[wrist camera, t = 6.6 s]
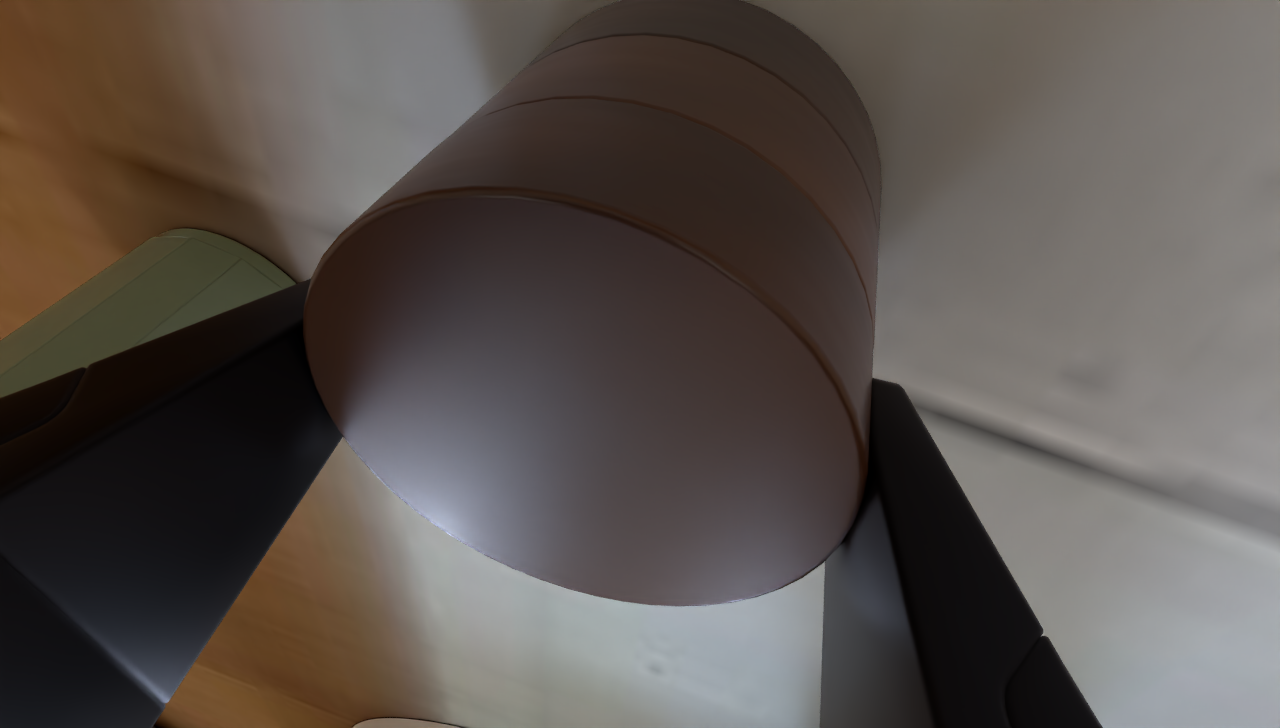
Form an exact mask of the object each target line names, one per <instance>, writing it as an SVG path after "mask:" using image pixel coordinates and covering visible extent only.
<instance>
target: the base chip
mask: <svg viewBox="0 0 1280 728" xmlns="http://www.w3.org/2000/svg"><path fill="white" fill-rule="evenodd" d="M638 35H646V36H657V37H667V38H678V39H682V40H686V41H690V42H694V43H698V44H703V45H707V46H711V47H714V48H716V49H719V50H721V51H724V52H726V53H729V54H732V55H734V56H737V57H739V58H742V59H744V60H746V61H748V62H750V63H751V64H753V65H755V66H757V67H759V68H760V69H762V70H764V71H766V72H768V73H769V74H771V75H773V76H775V77H776V78H777V79H779V80H780V81H781V82H783V83H784V84H785V85H787V86H788V87H789V88H791V89H792V90H793V91H795V92H796V93H797V94H799V95H800V96H801V97H803V98H804V99H805V100H806V101H807V102H808V103H809V104H810V105H811V106H812V107H813V108H814V109H815V110H816V111H817V112H818V113H819V114H820V115H821V116H822V117H823V118H824V119H825V120H826V121H827V122H828V124H829V125H830V126H831V128H832V129H833V130H834V132H835V133H836V134H837V136H838V137H839V138H840V140H841V141H842V142H843V143H844V145H845V146H846V148H847V149H848V151H849V153H850V155H851V157H852V158H853V160H854V162H855V164H856V166H857V167H858V169H859V171H860V173H861V175H862V178H863V180H864V183H865V186H866V188H867V191H868V194H869V197H870V199H871V202H872V207H873V212H874V217H875V222H876V227H877V239H878V250H879V229H880V208H881V163H880V158H879V152H878V147H877V142H876V137H875V134H874V131H873V128H872V125H871V123H870V120H869V117H868V114H867V112H866V110H865V108H864V106H863V104H862V102H861V100H860V98H859V96H858V94H857V93H856V91H855V89H854V87H853V86H852V84H851V83H850V82H849V80H848V79H847V77H846V76H845V75H844V73H843V72H842V71H841V69H840V68H839V66H838V65H837V64H836V63H835V62H834V61H833V60H832V59H831V58H830V57H829V56H828V55H827V54H826V53H825V52H824V51H823V50H822V49H821V47H820V46H819V45H818V44H817V43H815V42H814V41H813V40H811V39H810V38H809V37H807V36H806V35H805V34H804V33H802V32H801V31H800V30H798V29H797V28H796V27H794V26H793V25H791V24H790V23H788V22H786V21H784V20H783V19H781V18H779V17H777V16H775V15H774V14H772V13H770V12H768V11H766V10H764V9H761V8H759V7H756V6H754V5H751V4H748V3H746V2H743V1H741V0H620V1H618V2H615V3H613V4H610V5H608V6H605V7H602V8H600V9H598V10H597V11H595V12H593V13H591V14H590V15H588V16H586V17H585V18H583V19H581V20H579V21H578V22H576V23H575V24H574V25H573V26H572V27H570V28H569V29H568V30H567V31H565V32H564V33H563V34H562V35H561V36H559V37H558V38H557V39H556V40H555V41H554V42H553V43H552V44H550V45H549V46H548V47H547V48H546V49H545V50H544V51H543V52H542V53H541V54H539V55H538V56H537V57H536V58H535V59H534V60H533V61H532V62H531V63H530V64H528V65H527V66H526V67H525V68H524V69H523V70H522V71H521V72H523V71H524V70H525V69H526V68H527V67H529V66H531V65H533V64H534V63H536V62H538V61H540V60H541V59H543V58H545V57H547V56H549V55H550V54H552V53H555V52H557V51H560V50H563V49H565V48H568V47H571V46H574V45H576V44H579V43H583V42H588V41H593V40H598V39H603V38H608V37H618V36H638ZM521 72H520V73H521ZM520 73H519V74H520ZM519 74H517V75H516V76H518V75H519ZM516 76H515V77H516ZM515 77H514V78H515ZM514 78H513V79H514ZM513 79H512V80H513Z"/></svg>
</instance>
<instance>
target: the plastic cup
mask: <svg viewBox="0 0 1280 728" xmlns="http://www.w3.org/2000/svg"><path fill="white" fill-rule="evenodd" d="M295 284H296V283H295V282H294V281H293V280H292V279H291V278H290V277H288V276H287V275H286V274H285V273H284V272H283V271H281V270H280V269H279V268H278V267H276V266H275V265H274V264H272V263H271V262H269V261H268V260H267V259H265V258H264V257H262V256H261V255H259V254H258V253H256V252H254V251H253V250H251V249H249V248H247V247H246V246H244V245H242V244H240V243H238V242H236V241H234V240H231V239H229V238H226V237H224V236H221V235H218V234H215V233H211V232H208V231H203V230H198V229H188V228H180V229H172V230H168V231H165V232H162V233H160V234H159V235H157V236H156V237H152V238H150V239H148V240H147V241H145V242H144V243H142V244H141V245H140V246H138V247H137V248H135V249H134V250H132V251H131V252H129V253H128V254H126V255H125V256H123V257H122V258H121V259H119V260H118V261H116V262H115V263H113V264H112V265H110V266H109V267H107V268H106V269H104V270H103V271H101V272H100V273H99V274H97V275H96V276H94V277H93V278H91V279H90V280H88V281H87V282H85V283H84V284H82V285H81V286H80V287H78V288H77V289H75V290H74V291H72V292H71V293H69V294H68V295H66V296H65V297H63V298H62V299H61V300H59V301H58V302H56V303H55V304H53V305H52V306H50V307H49V308H47V309H46V310H44V311H43V312H41V313H40V314H39V315H37V316H36V317H34V318H33V319H31V320H30V321H28V322H27V323H25V324H24V325H22V326H21V327H20V328H18V329H17V330H15V331H14V332H12V333H11V334H9V335H8V336H6V337H5V338H3V339H2V340H1V341H0V398H1V397H4V396H7V395H9V394H12V393H15V392H17V391H20V390H23V389H26V388H28V387H31V386H34V385H36V384H39V383H42V382H44V381H47V380H50V379H52V378H55V377H57V376H60V375H63V374H65V373H68V372H70V371H73V370H75V369H78V368H80V367H85V368H87V367H88V366H89V365H90V364H91V363H94V362H96V361H99V360H101V359H104V358H107V357H109V356H112V355H114V354H117V353H120V352H122V351H125V350H127V349H130V348H133V347H135V346H138V345H140V344H143V343H145V342H148V341H151V340H153V339H156V338H158V337H161V336H164V335H166V334H169V333H171V332H174V331H176V330H179V329H182V328H184V327H187V326H189V325H192V324H195V323H197V322H200V321H202V320H205V319H207V318H210V317H213V316H215V315H218V314H220V313H223V312H226V311H228V310H231V309H233V308H236V307H238V306H241V305H244V304H246V303H249V302H251V301H254V300H257V299H259V298H262V297H264V296H267V295H270V294H272V293H275V292H277V291H280V290H282V289H285V288H288V287H290V286H293V285H295Z"/></svg>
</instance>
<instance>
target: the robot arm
mask: <svg viewBox="0 0 1280 728" xmlns="http://www.w3.org/2000/svg"><path fill="white" fill-rule="evenodd" d="M310 281H311V279H308V280H306V281H303V282H301V283H298V284H295V285H293V286H290V287H288V288H285V289H282V290H280V291H277V292H275V293H272V294H270V295H267V296H264V297H262V298H259V299H257V300H254V301H251V302H249V303H246V304H244V305H241V306H238V307H236V308H233V309H231V310H228V311H226V312H223V313H220V314H218V315H215V316H213V317H210V318H207V319H205V320H202V321H200V322H197V323H195V324H192V325H189V326H187V327H184V328H182V329H179V330H176V331H174V332H171V333H169V334H166V335H164V336H161V337H158V338H156V339H153V340H151V341H148V342H145V343H143V344H140V345H138V346H135V347H133V348H130V349H127V350H125V351H122V352H120V353H117V354H114V355H112V356H109V357H107V358H104V359H101V360H99V361H96V362H94V363H91V364H90V365H89V366H88V367H87V368H85V367H80V368H78V369H75V370H73V371H70V372H68V373H65V374H63V375H60V376H57V377H55V378H52V379H50V380H47V381H44V382H42V383H39V384H36V385H34V386H31V387H28V388H26V389H23V390H20V391H17V392H15V393H12V394H9V395H7V396H4V397H1V398H0V728H152V727H153V725H154V724H155V722H156V721H157V719H158V718H159V716H160V715H161V713H162V712H163V710H164V709H165V703H167V702H168V701H169V700H170V699H171V697H172V696H173V694H174V693H175V691H176V690H177V688H178V686H179V685H180V683H181V682H182V680H183V679H184V677H185V676H186V674H187V673H188V671H189V670H190V668H191V667H192V665H193V664H194V662H195V661H196V659H197V658H198V656H199V655H200V653H201V652H202V650H203V648H204V647H205V645H206V644H207V642H208V641H209V639H210V638H211V636H212V635H213V633H214V632H215V630H216V629H217V627H218V626H219V624H220V623H221V621H222V620H223V618H224V617H225V615H226V613H227V612H228V610H229V609H230V607H231V606H232V604H233V603H234V601H235V600H236V598H237V597H238V595H239V594H240V592H241V591H242V589H243V588H244V586H245V585H246V583H247V582H248V580H249V579H250V577H251V575H252V574H253V572H254V571H255V569H256V568H257V566H258V565H259V563H260V562H261V560H262V559H263V557H264V556H265V554H266V553H267V551H268V550H269V548H270V547H271V545H272V544H273V542H274V541H275V539H276V537H277V536H278V534H279V533H280V531H281V530H282V528H283V527H284V525H285V524H286V522H287V521H288V519H289V518H290V516H291V515H292V513H293V512H294V510H295V509H296V507H297V506H298V504H299V503H300V501H301V499H302V498H303V496H304V495H305V493H306V492H307V490H308V489H309V487H310V486H311V484H312V483H313V481H314V480H315V478H316V477H317V475H318V474H319V472H320V471H321V469H322V468H323V466H324V465H325V463H326V461H327V460H328V458H329V457H330V455H331V454H332V452H333V451H334V449H335V448H336V446H337V445H338V443H339V442H340V440H341V439H342V437H343V436H342V434H341V433H340V431H339V430H338V429H337V427H336V425H335V423H334V422H333V420H332V418H331V417H330V415H329V413H328V412H327V410H326V408H325V407H324V404H323V402H322V400H321V398H320V396H319V393H318V391H317V389H316V387H315V384H314V382H313V379H312V375H311V372H310V369H309V365H308V362H307V359H306V353H305V345H304V338H303V314H304V305H305V301H306V297H307V293H308V289H309V285H310ZM1042 634H1043V628H1042V626H1041V625H1040V623H1039V621H1038V619H1037V618H1036V616H1035V614H1034V613H1033V611H1032V609H1031V607H1030V606H1029V604H1028V602H1027V600H1026V599H1025V597H1024V595H1023V594H1022V592H1021V590H1020V588H1019V587H1018V585H1017V583H1016V582H1015V580H1014V578H1013V576H1012V575H1011V573H1010V571H1009V569H1008V568H1007V566H1006V564H1005V563H1004V561H1003V559H1002V557H1001V556H1000V554H999V552H998V551H997V549H996V547H995V545H994V544H993V542H992V540H991V538H990V537H989V535H988V533H987V532H986V530H985V528H984V526H983V525H982V523H981V521H980V520H979V518H978V516H977V514H976V513H975V511H974V509H973V507H972V506H971V504H970V502H969V501H968V499H967V497H966V495H965V494H964V492H963V490H962V489H961V487H960V485H959V483H958V482H957V480H956V478H955V476H954V475H953V473H952V471H951V470H950V468H949V466H948V464H947V463H946V461H945V459H944V458H943V456H942V454H941V452H940V451H939V449H938V447H937V445H936V444H935V442H934V440H933V439H932V437H931V435H930V433H929V432H928V430H927V428H926V427H925V425H924V423H923V421H922V420H921V418H920V416H919V414H918V413H917V411H916V409H915V408H914V406H913V404H912V402H911V401H910V399H909V397H908V396H907V394H906V392H905V390H904V389H903V388H902V387H901V386H900V385H899V384H896V383H892V382H888V381H884V380H879V379H875V378H872V392H871V414H870V436H869V458H868V474H867V481H866V488H865V495H864V500H863V502H862V505H861V507H860V509H859V512H858V514H857V517H856V519H855V522H854V524H853V526H852V527H851V529H850V530H849V532H848V534H847V535H846V537H845V538H844V540H843V541H842V543H841V544H840V546H839V547H838V548H837V549H836V550H835V551H834V552H833V553H832V554H831V555H830V556H829V557H828V558H827V559H826V560H825V581H824V612H823V643H822V673H821V704H820V728H1103V727H1102V726H1101V724H1100V723H1099V721H1098V719H1097V718H1096V716H1095V715H1094V713H1093V711H1092V710H1091V708H1090V706H1089V705H1088V703H1087V702H1086V700H1085V698H1084V697H1083V695H1082V693H1081V692H1080V690H1079V688H1078V687H1077V685H1076V684H1075V682H1074V680H1073V679H1072V677H1071V675H1070V674H1069V672H1068V670H1067V669H1066V667H1065V665H1064V664H1063V662H1062V660H1061V658H1060V657H1059V655H1058V653H1057V652H1056V650H1055V648H1054V646H1053V645H1052V643H1051V641H1050V639H1049V638H1048V637H1046V636H1041V635H1042Z"/></svg>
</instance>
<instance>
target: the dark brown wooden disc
mask: <svg viewBox="0 0 1280 728" xmlns="http://www.w3.org/2000/svg"><path fill="white" fill-rule="evenodd" d="M303 338H304V345H305V353H306V359H307V362H308V365H309V369H310V372H311V375H312V379H313V382H314V384H315V387H316V389H317V391H318V393H319V396H320V398H321V400H322V402H323V404H324V407H325V408H326V410H327V412H328V413H329V415H330V417H331V418H332V420H333V422H334V423H335V425H336V427H337V429H338V430H339V431H340V433H341V434H342V436H343V437H344V438H345V440H346V441H347V442H348V444H349V445H350V446H351V448H352V449H353V450H354V452H355V453H356V454H357V455H358V456H359V457H360V459H361V460H362V461H363V462H364V463H365V464H366V465H367V467H368V468H369V469H370V470H371V471H372V472H373V473H374V474H375V475H376V476H377V477H378V478H379V479H380V480H381V481H382V482H383V483H384V484H385V485H386V486H387V487H388V488H389V489H390V490H391V491H392V492H393V493H395V494H396V495H397V496H398V497H399V498H401V499H402V500H403V501H404V502H405V503H407V504H408V505H409V506H410V507H411V508H413V509H414V510H415V511H416V512H418V513H419V514H421V515H422V516H423V517H425V518H426V519H427V520H429V521H430V522H432V523H433V524H434V525H436V526H437V527H438V528H440V529H442V530H443V531H445V532H446V533H448V534H450V535H451V536H453V537H454V538H456V539H457V540H459V541H461V542H462V543H464V544H466V545H468V546H469V547H471V548H473V549H475V550H477V551H478V552H480V553H482V554H484V555H486V556H488V557H490V558H492V559H494V560H496V561H498V562H500V563H502V564H504V565H507V566H509V567H511V568H513V569H515V570H518V571H520V572H523V573H525V574H528V575H530V576H533V577H535V578H538V579H540V580H543V581H546V582H549V583H552V584H555V585H558V586H561V587H564V588H567V589H571V590H574V591H578V592H582V593H586V594H590V595H593V596H598V597H603V598H608V599H613V600H618V601H623V602H631V603H639V604H647V605H661V606H706V605H714V604H723V603H731V602H736V601H740V600H745V599H749V598H754V597H758V596H761V595H764V594H766V593H769V592H772V591H775V590H778V589H781V588H783V587H785V586H787V585H789V584H791V583H793V582H795V581H797V580H799V579H801V578H803V577H804V576H805V575H807V574H808V573H810V572H811V571H812V570H814V569H815V568H817V567H818V566H819V565H821V564H822V563H823V562H824V561H825V560H826V559H827V558H828V557H829V556H830V555H831V554H832V553H833V552H834V551H835V550H836V549H837V548H838V547H839V546H840V544H841V543H842V541H843V540H844V538H845V537H846V535H847V534H848V532H849V530H850V529H851V527H852V526H853V524H854V522H855V519H856V517H857V514H858V512H859V509H860V507H861V505H862V502H863V500H864V495H865V488H866V481H867V474H868V458H869V436H870V414H871V392H872V370H873V333H872V320H871V316H870V311H869V307H868V303H867V298H866V294H865V291H864V288H863V286H862V283H861V281H860V278H859V276H858V273H857V271H856V268H855V266H854V264H853V261H852V259H851V258H850V256H849V254H848V253H847V251H846V249H845V248H844V246H843V244H842V243H841V241H840V239H839V238H838V236H837V234H836V233H835V231H834V230H833V229H832V227H831V226H830V225H829V224H828V222H827V221H826V220H825V219H824V217H823V216H822V215H821V214H820V213H819V211H818V210H817V209H816V208H815V206H814V205H813V204H812V203H811V201H810V200H809V199H808V198H806V197H805V196H804V195H803V194H802V193H801V192H800V191H799V190H798V189H797V188H796V187H795V186H794V185H793V184H792V183H791V182H789V181H788V180H787V179H786V178H785V177H784V176H783V175H782V174H781V173H780V172H778V171H777V170H776V169H774V168H773V167H771V166H770V165H769V164H767V163H766V162H765V161H763V160H762V159H760V158H759V157H758V156H756V155H755V154H753V153H752V152H751V151H749V150H748V149H746V148H744V147H743V146H741V145H739V144H737V143H735V142H733V141H732V140H730V139H728V138H726V137H724V136H722V135H721V134H719V133H717V132H715V131H713V130H711V129H709V128H707V127H704V126H702V125H699V124H697V123H694V122H692V121H689V120H686V119H684V118H681V117H679V116H676V115H674V114H671V113H667V112H663V111H659V110H655V109H651V108H647V107H643V106H639V105H635V104H631V103H623V102H615V101H606V100H597V99H551V100H545V101H539V102H533V103H527V104H521V105H515V106H513V107H510V108H507V109H504V110H501V111H498V112H495V113H492V114H489V115H486V116H483V117H481V118H479V119H478V120H476V121H474V122H472V123H470V124H468V125H466V126H465V127H463V128H461V129H459V130H457V131H456V132H454V133H453V134H452V135H451V136H449V137H448V138H447V139H446V140H444V141H443V142H442V143H441V144H439V145H438V146H437V147H436V148H434V149H433V150H432V151H431V152H430V153H429V154H428V155H426V156H425V157H424V158H423V159H422V160H421V161H420V162H419V163H418V164H417V165H416V166H414V167H413V168H412V169H411V170H410V171H409V172H408V173H407V174H406V175H405V176H403V177H402V178H401V179H400V180H399V181H398V182H397V183H396V184H395V185H394V186H392V187H391V188H390V189H389V190H388V191H387V192H386V193H385V194H384V195H383V196H381V197H380V198H379V199H378V200H377V201H376V202H375V203H374V204H373V205H372V206H371V207H369V208H368V209H367V210H366V211H365V212H364V213H363V214H362V215H361V216H360V217H358V218H357V219H356V220H355V221H354V222H353V223H352V224H351V225H350V226H349V227H347V228H346V229H345V230H344V231H343V232H342V233H341V234H340V235H339V236H338V237H337V239H336V240H335V241H334V242H333V244H332V245H331V246H330V247H329V248H328V250H327V251H326V252H325V253H324V254H323V256H322V258H321V260H320V262H319V264H318V266H317V268H316V270H315V272H314V274H313V276H312V278H311V281H310V285H309V289H308V293H307V297H306V301H305V305H304V314H303Z"/></svg>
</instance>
